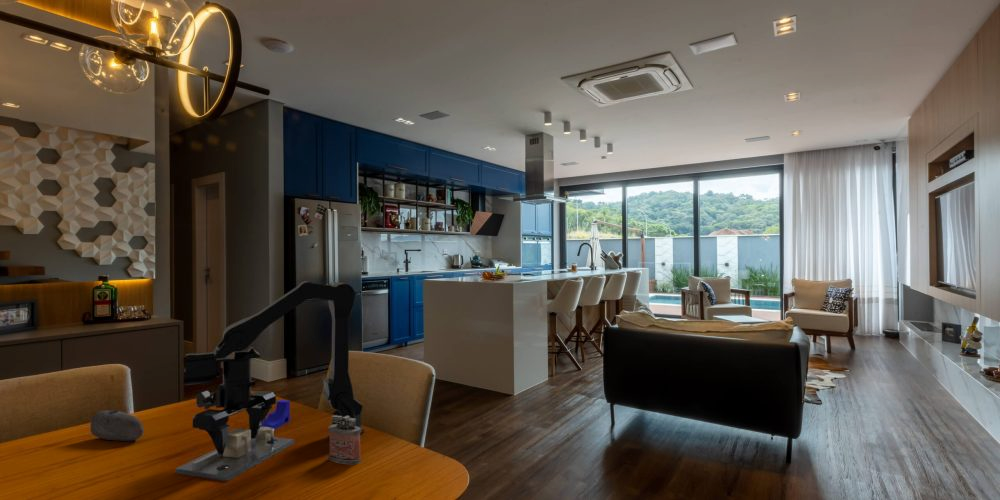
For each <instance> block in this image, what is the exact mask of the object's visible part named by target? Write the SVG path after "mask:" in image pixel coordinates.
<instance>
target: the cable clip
mask: <svg viewBox="0 0 1000 500" xmlns="http://www.w3.org/2000/svg"><path fill="white" fill-rule="evenodd" d="M290 407H291V401H290V400H288V399H287V400H284V399H280V400H276V407H275V410H274V411H271V412H268V413H269V414H267V416H266V417H265V419H264V421H263V423H262V425H261V427H270V428H273V429H274V431H275V430H277V429H279V428H280V427H282V426H283V425H286V424H287V423H289V422H290V421H291V417H290V416H291V414H290V413H291V408H290ZM285 423H286V424H285Z"/></svg>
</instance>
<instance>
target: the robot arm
mask: <svg viewBox="0 0 1000 500" xmlns="http://www.w3.org/2000/svg"><path fill="white" fill-rule="evenodd" d="M310 298H312V299H318V300H324V301H325V300H326V301H327V302H328V308H329V311H330V315H331V322H332V323H331V363H330V364H331V369H330V374H329V377H328V378H323V379H322V381H323V391H322V395H323V396H324V397H325V399H326V401H327V402H328V403H329V405H330V406H331V407H332V408H333V409H334V410H335V411H333V416H334V415H336V416H342V417H345V416H350V418H354V419H356V423H355V426H357V427H360V428H361V432H360V435H362V434H363V433H365V432H366V431H365V429H364V428H363V429H362V410H363V407H364V406H363V405H362V403H360V402H359V400H357V399H356V398H355V396H354V390H353V385H352V381H351V377H350V374H349V373H350V372H349V359H350V358H349V356H350V355H349V350H350V349H349V347H350V346H349V345H350V317H351V315H352V311H353V309H354V304H355V300H356V290H355V289H354V288H353V286H352V285H350V284H348V283H344V282H334V283H333V284H331V285H330V284H324V283H315V282H312V281H307V280H305V281H301V282H300V283H299V284H298V285H297V286H296V287H294V288H293V289H291V290H290V291H288V292H286V293H285V294H283V295H282V296H280V297H279V298H278V299H276V300H275V301H273V302H272V303H270V304H269V305H268V306H266V307H264V308H263V309H261V310H260V311H258V312H257V313H254V314H253V315H251V316H248V317H245V318H243V319H241V320H238V321H237V322H234V323H232V324H230V325H228V326H227V327H226V328H225V329H224V330H223V332H222V333H223V334H222V340H221V341H220V342H219V344H218V345H217V346H215V349H214V350H213V351H212V352H210V351H209V352H201V353H195V352H194V353H186V354H185V362H184V363H185V364H184V365H185V366H184V371H183V384H184V386H191V385H199V384H206V383H213V382H214V381H215V380H217V378H218V377H219V378H220V375H221V373H220V363H222V383H221V384H218V386H217V391H215V392H209V390H205V391H202V392H199V393H196V399H195V400H196V401H195V402H196V406H197V407H198V408H199V409H200V408H204V410H203V411H201V412H198V413H196V414H195V415H193V417H192V428H195V429H198V430H202V431H205V432H206V433H207V434H208V435H209V437H210V439H211V440H212V443H213V445H214V448H215V450H217V452H218V454H223V453H224V450H225V446H226V440H227V435H228V432H229V430H230V424H228V422H229V419H230V418H229V417H231V416H233V415H236V414H238V413H240V412H243V411H246V413H247V414H248V424H249V427H248V428H249V429H250V430H251V438H255V437H256V435H257V433H258V431H259V429H260V427H261V425H262V423H263V421H264V419H265V420H266V418H267V417H268V415H269V414H268V413H270V410H271V409H273V405H277V396H276V394H275V393H274V392H272V391H266V390H265V391H263V390H258V391H255V392H252V387H254V386H256V381H255V380H252V359H259V358H260V357H261V355H260V353H259V352H258V351H257V350H255V349H254V347H253V346H250V345H251V344H252V343H253V342H255V340H256V339H258V337H260V335H261V334H262V333H263V332H264V331H265V330H266V328H268V327H269V326H270V325H272V324H274V323H275V322H277V320H279V319H281V318H282V317H284V316H285V315H287V314H288V313H289V312H291V311H292V310H294V309H295V308H297V307H298V306H299V305H301V304H302V303H304V302H306V301H307V300H308V299H310ZM249 346H250V347H249ZM247 348H249V349H247ZM246 349H247V350H246ZM232 353H233V355H231V354H232ZM212 407H215V408H216V409H213V408H212ZM220 408H223V409H220ZM333 424H337V423H336V422H332V421H331V425H333Z"/></svg>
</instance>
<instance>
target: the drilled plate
mask: <svg viewBox="0 0 1000 500" xmlns="http://www.w3.org/2000/svg"><path fill="white" fill-rule="evenodd" d="M274 432H275V430H274V429H273V428H270V427H260V429H259V431H258V433H257V435H256V437H255V438H251V451H250V452H248V454H244V455H242V456H240V457H238V458H233V457H226V456H223V454H218V452H217V450H216V449H215V450H212V451H210V452H207V453H206V454H204V455H201V456H200V457H199V456H198V457H197V458H195V459H193V460H191V461H188V462H187V463H185V464H182V465H180V466H177V468H175V474H179V475H185V476H193V477H198V478H204V479H211V480H216V481H224V482H225V481H226V482H228V481H230V480H232V479H234V478H236V477H238V476H240V475H241V474H242V473H245V472H246V471H247V470H249V469H251V468H253V467H256V466H257V465H259V464H260V463H262V462H264V461H266V460H267V459H269V458H271V457H273V456H274V455H276V454H278V453H280V452H282V451H283V450H285V449H287V448H288V447H290V446H292V445H295V439H293V438H283V437H276V436H275V435H274V434H275V433H274Z"/></svg>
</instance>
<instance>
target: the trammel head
mask: <svg viewBox="0 0 1000 500" xmlns="http://www.w3.org/2000/svg"><path fill="white" fill-rule="evenodd" d="M250 451H251V430H250V428H249V429H248V428H242V427H241V428H238V427H236V428H235V429H232V430H230V431H229V430H228V435H227V440H226V446H225V450H224V453H223V456H226V457H233V458H238V457H240V456H242V455H244V454H248V452H250Z"/></svg>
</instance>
